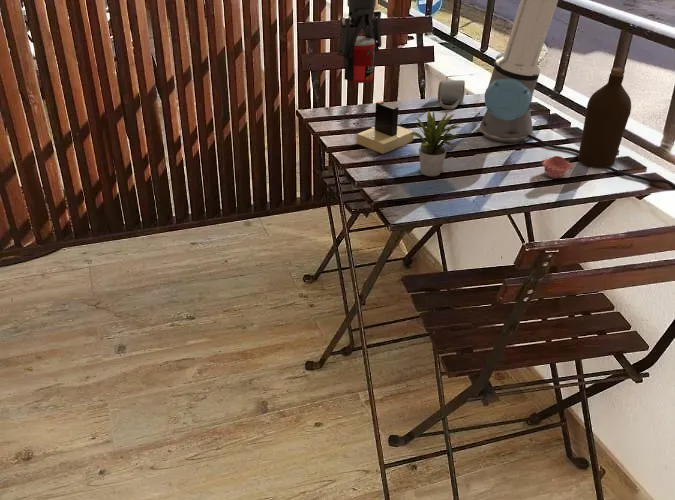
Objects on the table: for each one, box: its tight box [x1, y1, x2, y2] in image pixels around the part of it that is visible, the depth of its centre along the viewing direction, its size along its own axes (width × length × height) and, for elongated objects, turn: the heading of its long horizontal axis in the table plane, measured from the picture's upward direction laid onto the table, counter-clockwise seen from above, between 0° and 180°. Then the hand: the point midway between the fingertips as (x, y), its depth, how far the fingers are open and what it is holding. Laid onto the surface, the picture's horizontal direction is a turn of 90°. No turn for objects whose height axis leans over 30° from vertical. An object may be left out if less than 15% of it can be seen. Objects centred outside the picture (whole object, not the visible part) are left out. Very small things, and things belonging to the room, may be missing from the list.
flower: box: [541, 155, 574, 179], centre depth 166 cm, size 8×8×6 cm
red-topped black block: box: [374, 100, 399, 137], centre depth 181 cm, size 6×2×8 cm, turn 44°
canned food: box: [347, 35, 375, 84], centre depth 180 cm, size 8×8×11 cm
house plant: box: [410, 109, 464, 177], centre depth 163 cm, size 14×14×16 cm
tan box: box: [356, 125, 415, 155], centre depth 184 cm, size 13×11×3 cm
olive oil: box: [577, 67, 632, 169], centre depth 169 cm, size 11×11×25 cm
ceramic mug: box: [437, 79, 466, 110], centre depth 210 cm, size 11×8×8 cm
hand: (359, 76), depth 183 cm, fingers closed on canned food, 8 cm apart
